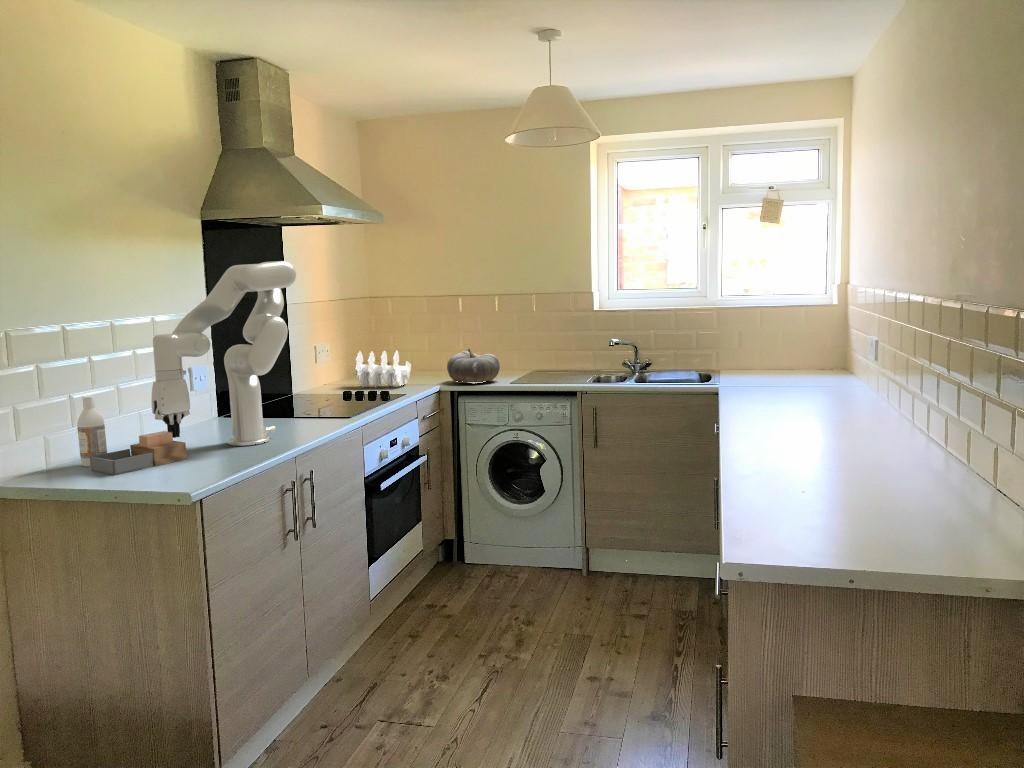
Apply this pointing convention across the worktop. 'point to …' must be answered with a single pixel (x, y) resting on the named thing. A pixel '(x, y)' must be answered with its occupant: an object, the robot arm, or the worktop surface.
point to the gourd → (473, 367)
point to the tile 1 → (165, 437)
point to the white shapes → (381, 370)
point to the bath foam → (90, 432)
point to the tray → (120, 462)
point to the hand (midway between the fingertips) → (174, 436)
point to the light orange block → (149, 440)
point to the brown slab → (162, 452)
